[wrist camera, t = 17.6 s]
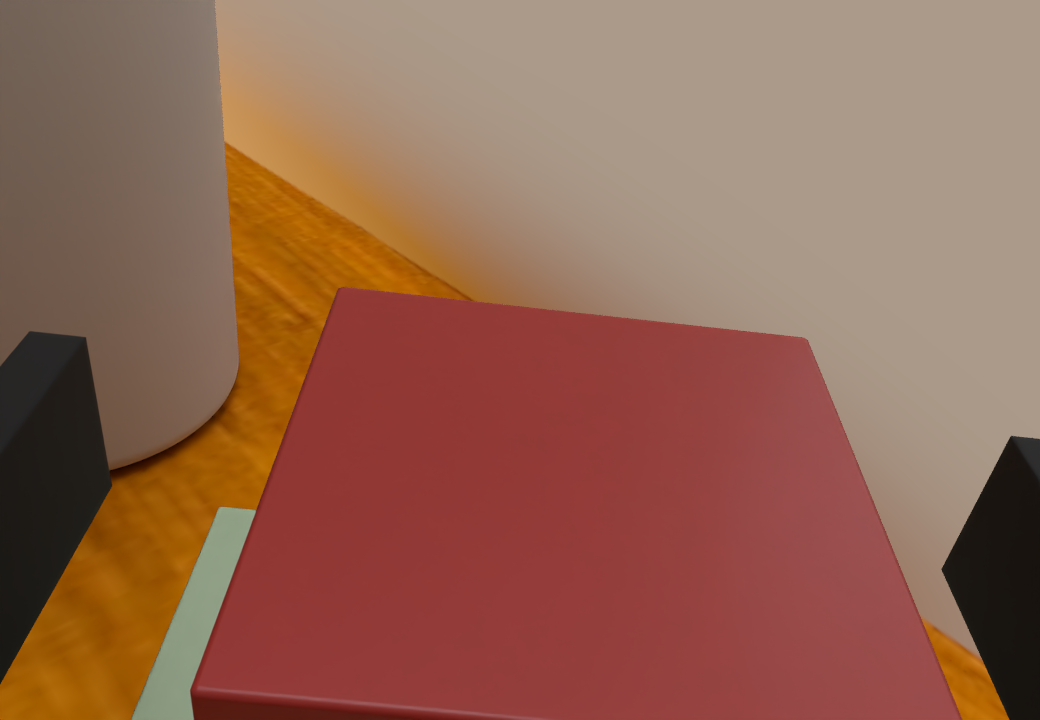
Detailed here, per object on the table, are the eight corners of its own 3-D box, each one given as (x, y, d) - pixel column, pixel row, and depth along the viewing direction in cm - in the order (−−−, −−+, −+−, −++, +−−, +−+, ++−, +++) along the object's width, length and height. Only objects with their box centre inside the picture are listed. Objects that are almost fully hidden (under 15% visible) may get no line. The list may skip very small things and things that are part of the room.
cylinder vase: (-171, 385, 36) (-488, -474, 22) (118, 274, 45) (22, -392, 31) (16, 546, 31) (-249, -457, 17) (303, 384, 40) (288, -364, 26)
